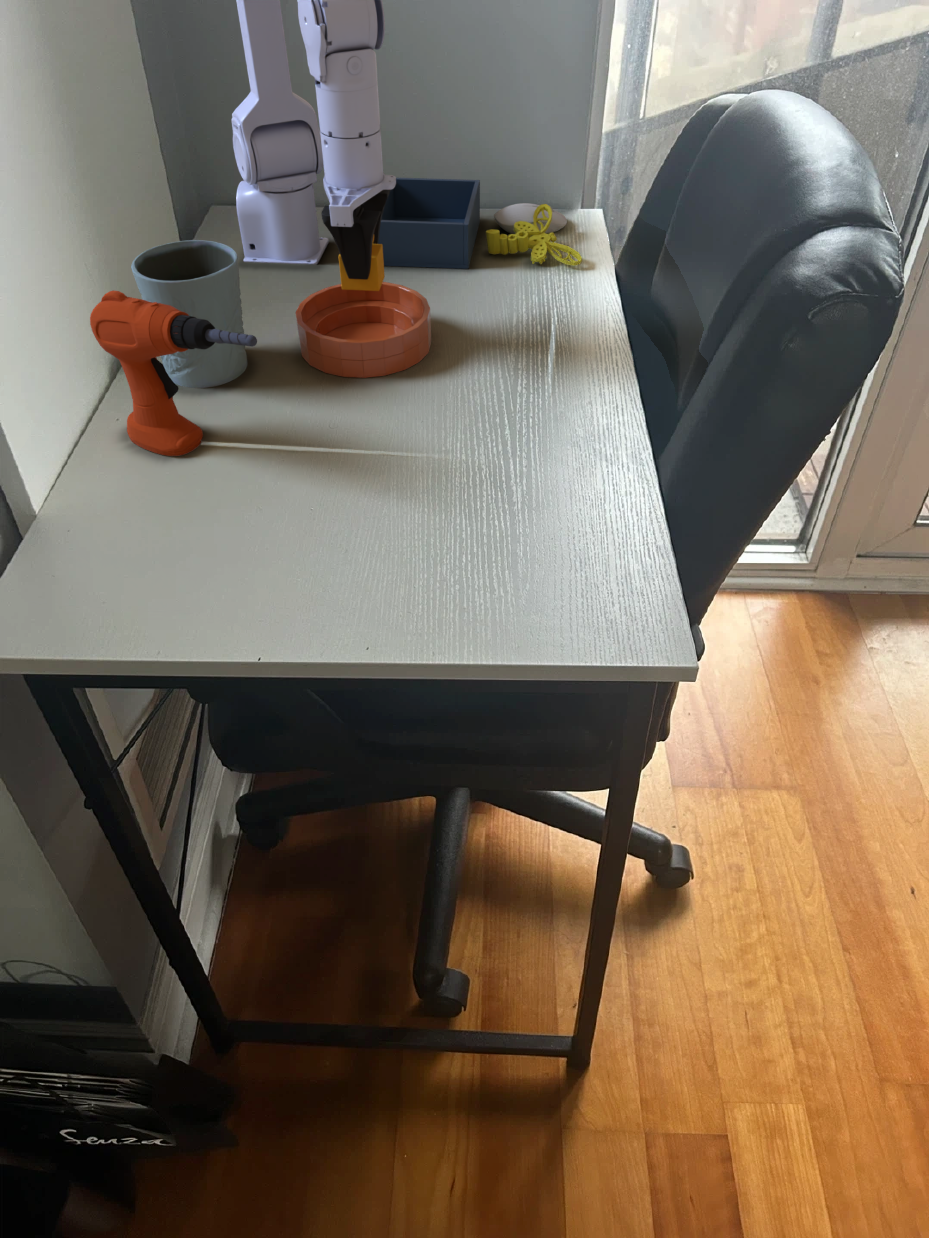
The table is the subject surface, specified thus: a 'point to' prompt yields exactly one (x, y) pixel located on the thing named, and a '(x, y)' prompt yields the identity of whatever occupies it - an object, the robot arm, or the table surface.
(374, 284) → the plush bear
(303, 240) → the robot arm
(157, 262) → the grey blue pot
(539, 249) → the decorative insect
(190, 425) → the toy drill
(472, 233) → the bin
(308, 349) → the bowl
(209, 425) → the table surface
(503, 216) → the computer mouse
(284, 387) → the table surface
